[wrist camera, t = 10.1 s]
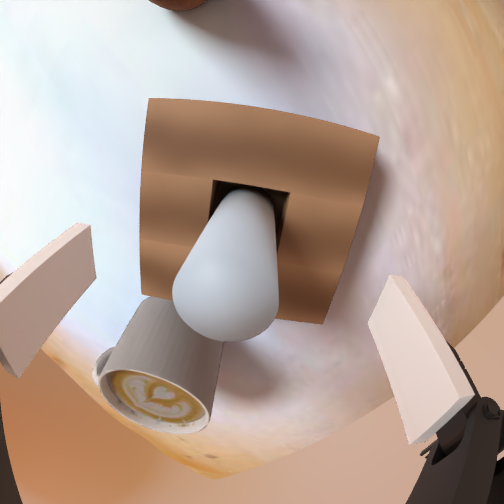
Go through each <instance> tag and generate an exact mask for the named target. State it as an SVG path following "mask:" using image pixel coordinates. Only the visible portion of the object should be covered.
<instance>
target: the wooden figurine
mask: <svg viewBox="0 0 504 504" xmlns="http://www.w3.org/2000/svg"><path fill="white" fill-rule="evenodd" d="M149 1H151V2H152V3H154V4H156V5H158V6H160V7H162V8H166V9H169V10H173V11H184V10H190V9H193V8H195V7H197V6H200V5H202V4H203V3H204V2H206V1H207V0H149Z"/></svg>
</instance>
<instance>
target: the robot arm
mask: <svg viewBox="0 0 504 504" xmlns="http://www.w3.org/2000/svg"><path fill="white" fill-rule="evenodd" d="M95 279H96V272H95V265H94V257H93V248H92V238H91V227H90V225H88V224H82V223H76V224H75V225H73V226H72V227H71V228H69V229H68V230H66V231H65V232H64V233H62V234H61V235H60V236H58V237H57V238H56V239H54V240H53V241H52V242H50V243H49V244H48V245H46V246H45V247H44V248H42V249H41V250H40V251H39V252H37V253H36V254H35V255H34V256H32V257H31V258H30V259H29V260H28V261H26V262H25V263H24V264H23V265H22V266H20V267H19V268H18V269H17V270H16V271H14V272H13V273H11V274H9V275H7V276H6V277H5V278H4V279H3V280H2V281H1V282H0V362H1V364H2V366H3V367H4V369H5V370H6V371H7V372H8V373H10V374H12V375H13V376H15V377H16V378H18V379H19V378H20V377H21V375H22V374H23V372H24V371H25V369H26V368H27V366H28V365H29V363H30V362H31V360H32V359H33V358H34V356H35V354H36V353H37V352H38V350H39V349H40V348H41V346H42V345H43V344H44V342H45V341H46V340H47V338H48V337H49V336H50V334H51V333H52V332H53V330H54V329H55V328H56V326H57V325H58V324H59V323H60V321H61V320H62V319H63V317H64V316H65V315H66V314H67V312H68V311H69V310H70V309H71V307H72V306H73V305H74V304H75V303H76V301H77V300H78V299H79V298H80V297H81V295H82V294H83V293H84V292H85V291H86V290H87V288H88V287H89V286H90V285H91V284H92V283H93V281H94V280H95ZM367 324H368V326H369V329H370V331H371V334H372V336H373V339H374V341H375V344H376V347H377V349H378V352H379V355H380V357H381V360H382V363H383V365H384V368H385V371H386V374H387V376H388V379H389V382H390V385H391V388H392V391H393V394H394V397H395V400H396V403H397V406H398V409H399V412H400V416H401V419H402V422H403V425H404V429H405V432H406V435H407V439H408V443H409V445H412V444H417V443H422V442H426V441H427V440H428V439H429V438H430V437H432V436H433V435H434V434H435V433H436V434H437V437H438V439H437V440H436V441H434V442H433V443H432V444H431V445H430V446H428V447H427V448H426V449H424V450H423V451H422V452H421V454H420V455H421V456H423V455H424V454H425V453H427V452H428V451H429V450H430V452H429V454H428V455H427V456H426V457H425V458H426V459H427V460H426V463H425V464H424V467H423V469H422V471H421V474H420V476H419V478H418V480H417V482H416V484H415V486H414V488H413V491H412V493H411V495H410V497H409V498H408V500H407V502H406V504H504V457H503V458H501V459H500V460H498V461H497V455H498V454H499V453H500V452H502V451H503V450H504V410H500V407H499V406H498V404H497V403H496V402H495V401H494V400H493V399H491V398H488V397H482V398H481V397H480V395H479V393H478V391H477V389H476V387H475V385H474V383H473V381H472V379H471V378H470V375H469V374H468V372H467V370H466V369H465V366H464V365H463V363H462V361H460V358H459V356H458V354H457V352H456V351H455V349H454V348H453V347H452V346H451V345H450V344H449V343H448V342H447V341H445V339H444V337H443V336H442V334H441V332H440V331H439V329H438V328H437V326H436V324H435V323H434V321H433V320H432V318H431V317H430V315H429V313H428V312H427V310H426V309H425V307H424V306H423V304H422V303H421V301H420V300H419V298H418V297H417V296H416V294H415V293H414V291H413V290H412V288H411V287H410V285H409V284H408V283H407V281H406V280H405V278H404V277H400V276H394V275H389V278H388V280H387V282H386V285H385V287H384V289H383V291H382V294H381V296H380V298H379V300H378V302H377V304H376V307H375V309H374V311H373V313H372V315H371V317H370V319H369V321H368V323H367ZM0 504H23V503H22V501H21V498H20V495H19V492H18V489H17V485H16V482H15V479H14V475H13V472H12V468H11V464H10V459H9V456H8V450H7V446H6V440H5V435H4V429H3V422H2V414H1V404H0Z"/></svg>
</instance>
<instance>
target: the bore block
mask: <svg viewBox="0 0 504 504" xmlns="http://www.w3.org/2000/svg"><path fill="white" fill-rule="evenodd" d="M379 138H380V137H379V136H376V135H373V134H370V133H367V132H363V131H360V130H357V129H353V128H350V127H346V126H343V125H339V124H335V123H331V122H328V121H324V120H319V119H315V118H311V117H307V116H302V115H297V114H293V113H288V112H282V111H277V110H271V109H266V108H259V107H253V106H246V105H239V104H231V103H222V102H212V101H201V100H187V99H166V98H149V101H148V108H147V116H146V124H145V134H144V144H143V155H142V169H141V187H140V274H141V292H142V294H143V295H147V296H152V297H157V298H161V299H166V300H171V301H173V296H172V290H173V284H174V280H175V278H176V276H177V274H178V272H179V271H180V269H181V267H182V265H183V264H184V262H185V260H186V259H187V257H188V255H189V253H190V252H191V250H192V248H193V247H194V245H195V243H196V242H197V240H198V238H199V237H200V235H201V233H202V232H203V230H204V228H205V227H206V225H207V224H208V222H209V220H210V219H211V217H212V216H213V214H214V212H215V211H216V209H217V208H218V206H219V204H220V203H221V201H222V200H223V198H224V196H225V195H226V194H227V192H228V191H229V190H231V189H232V188H234V187H235V186H238V185H241V184H245V185H251V186H257V187H261V188H262V189H264V190H265V191H266V192H267V193H268V194H269V195H270V197H271V199H272V201H273V204H274V216H275V233H276V251H277V270H278V292H279V307H278V312H277V314H276V317H275V318H276V319H283V320H291V321H299V322H307V323H315V324H323V322H324V320H325V317H326V314H327V312H328V309H329V307H330V304H331V301H332V299H333V296H334V293H335V291H336V288H337V285H338V282H339V279H340V277H341V274H342V271H343V268H344V265H345V262H346V259H347V256H348V253H349V250H350V247H351V244H352V240H353V237H354V234H355V231H356V227H357V224H358V221H359V217H360V214H361V210H362V207H363V203H364V200H365V196H366V192H367V189H368V185H369V181H370V177H371V173H372V169H373V165H374V160H375V156H376V152H377V147H378V143H379Z"/></svg>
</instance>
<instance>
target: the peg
mask: <svg viewBox="0 0 504 504" xmlns="http://www.w3.org/2000/svg"><path fill="white" fill-rule="evenodd" d="M172 296H173V302H174V305H175V308H176V310H177V312H178V314H179V315H180V317H181V318H182V320H183V321H184V322H185V323H186V324H187V325H188V326H189V327H190V328H192V329H193V330H194V331H196V332H198V333H199V334H201V335H203V336H205V337H208V338H211V339H214V340H218V341H225V342H235V341H243V340H247V339H250V338H253V337H255V336H257V335H259V334H261V333H262V332H263V331H265V330H266V329H267V328H268V327H269V326H270V325H271V323H272V322H273V321H274V319H275V317H276V314H277V312H278V307H279V292H278V270H277V251H276V233H275V216H274V204H273V201H272V199H271V197H270V195H269V194H268V193H267V192H266V191H265V190H264V189H262V188H261V187H257V186H251V185H245V184H241V185H238V186H235V187H234V188H232V189H231V190H229V191H228V192H227V194H226V195H225V196H224V198H223V200H222V201H221V203H220V204H219V206H218V208H217V209H216V211H215V212H214V214H213V216H212V217H211V219H210V220H209V222H208V224H207V225H206V227H205V228H204V230H203V232H202V233H201V235H200V237H199V238H198V240H197V242H196V243H195V245H194V247H193V248H192V250H191V252H190V253H189V255H188V257H187V259H186V260H185V262H184V264H183V265H182V267H181V269H180V271H179V272H178V274H177V276H176V278H175V280H174V284H173V290H172Z"/></svg>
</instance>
